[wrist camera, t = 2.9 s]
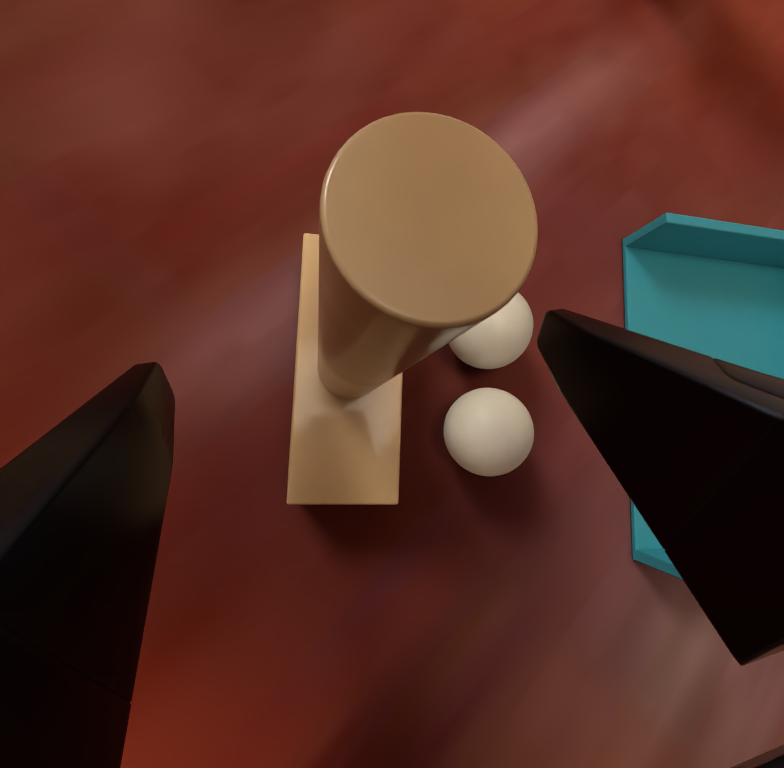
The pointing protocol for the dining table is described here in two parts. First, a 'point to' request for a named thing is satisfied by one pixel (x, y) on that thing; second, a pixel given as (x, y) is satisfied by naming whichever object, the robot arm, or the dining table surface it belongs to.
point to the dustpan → (704, 306)
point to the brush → (395, 289)
